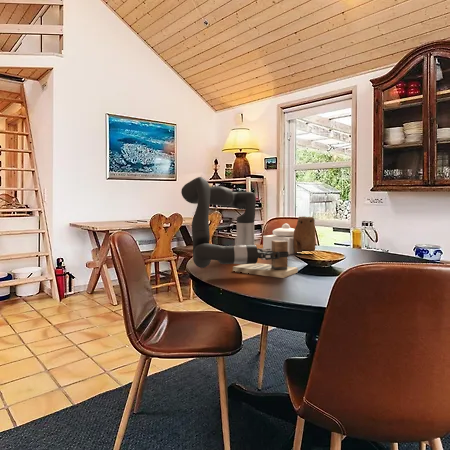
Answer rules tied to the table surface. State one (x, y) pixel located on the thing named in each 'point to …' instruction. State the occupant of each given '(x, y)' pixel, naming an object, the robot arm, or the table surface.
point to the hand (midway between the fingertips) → (285, 253)
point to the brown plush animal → (304, 235)
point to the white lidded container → (281, 237)
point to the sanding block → (282, 261)
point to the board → (265, 270)
